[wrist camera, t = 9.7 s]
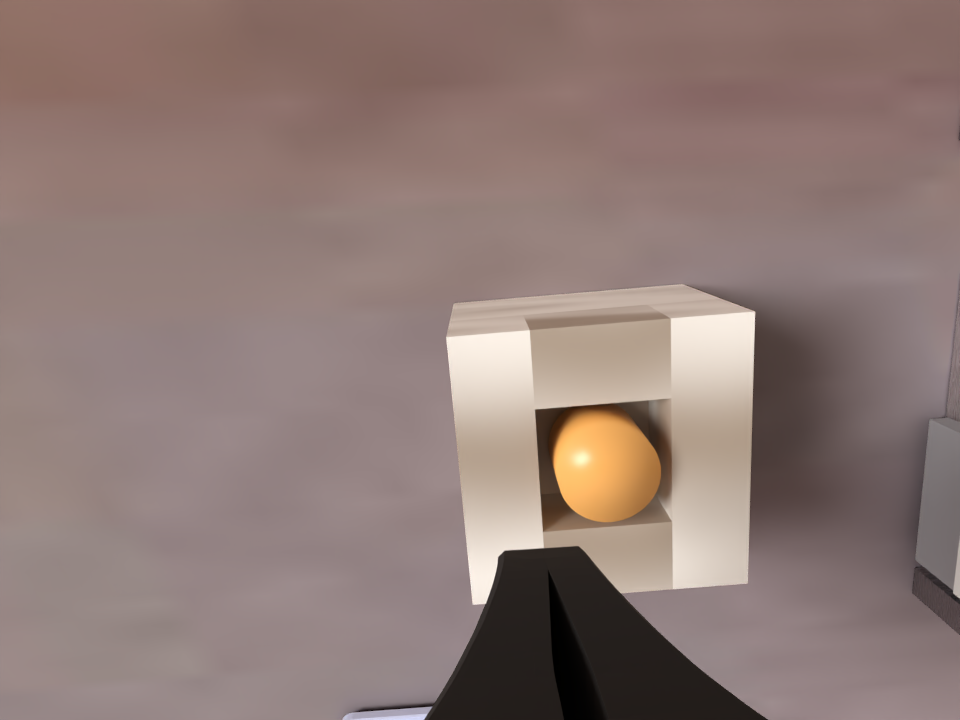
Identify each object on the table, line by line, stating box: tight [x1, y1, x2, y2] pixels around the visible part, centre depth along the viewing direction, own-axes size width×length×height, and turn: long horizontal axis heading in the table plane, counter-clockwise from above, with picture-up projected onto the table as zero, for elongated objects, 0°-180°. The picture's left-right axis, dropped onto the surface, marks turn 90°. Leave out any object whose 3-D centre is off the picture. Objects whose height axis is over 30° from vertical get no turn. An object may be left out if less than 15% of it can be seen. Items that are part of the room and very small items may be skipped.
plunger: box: [548, 403, 661, 522], centre depth 15 cm, size 2×2×2 cm
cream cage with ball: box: [446, 284, 755, 605], centre depth 17 cm, size 7×7×5 cm
